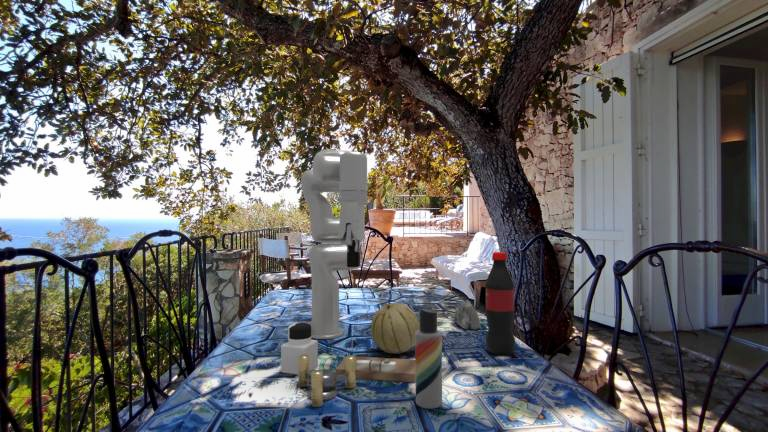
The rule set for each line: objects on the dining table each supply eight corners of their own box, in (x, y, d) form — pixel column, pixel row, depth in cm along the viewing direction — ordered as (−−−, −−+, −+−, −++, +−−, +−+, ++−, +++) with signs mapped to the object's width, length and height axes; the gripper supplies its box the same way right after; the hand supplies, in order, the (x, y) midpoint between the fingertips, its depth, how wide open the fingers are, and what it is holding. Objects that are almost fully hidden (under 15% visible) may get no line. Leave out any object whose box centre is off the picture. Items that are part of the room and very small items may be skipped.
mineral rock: (454, 320, 156) (454, 295, 156) (482, 322, 153) (482, 296, 153) (450, 329, 144) (449, 301, 144) (480, 331, 140) (479, 303, 141)
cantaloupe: (426, 348, 121) (426, 299, 121) (409, 363, 108) (409, 309, 108) (383, 342, 127) (383, 296, 127) (362, 356, 114) (362, 304, 114)
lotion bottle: (413, 397, 86) (413, 306, 87) (438, 396, 87) (438, 306, 87) (418, 410, 81) (417, 312, 81) (445, 408, 81) (444, 312, 82)
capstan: (300, 383, 94) (300, 354, 95) (356, 384, 93) (356, 355, 94) (283, 406, 82) (283, 373, 82) (347, 408, 81) (347, 374, 81)
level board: (335, 377, 98) (335, 358, 98) (346, 363, 108) (346, 346, 108) (415, 382, 95) (414, 362, 95) (418, 367, 105) (418, 349, 105)
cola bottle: (511, 348, 121) (510, 251, 121) (518, 357, 112) (517, 252, 113) (483, 347, 121) (482, 250, 122) (488, 356, 113) (487, 252, 114)
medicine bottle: (318, 366, 106) (318, 322, 106) (304, 376, 99) (304, 328, 99) (295, 363, 108) (295, 320, 109) (280, 372, 101) (280, 326, 102)
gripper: (347, 200, 113) (347, 263, 113) (331, 196, 99) (331, 269, 98) (372, 200, 112) (372, 264, 112) (360, 196, 97) (360, 270, 97)
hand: (353, 266), depth 105 cm, fingers closed
